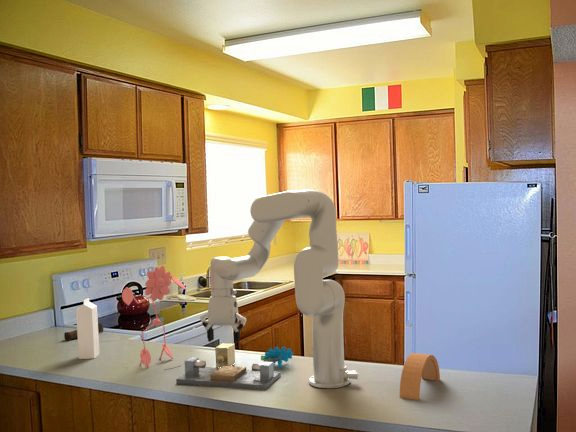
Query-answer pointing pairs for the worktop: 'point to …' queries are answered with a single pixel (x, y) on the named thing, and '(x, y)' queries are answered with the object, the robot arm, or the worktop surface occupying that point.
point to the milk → (87, 330)
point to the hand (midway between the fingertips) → (223, 341)
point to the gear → (277, 355)
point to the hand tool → (73, 335)
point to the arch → (417, 374)
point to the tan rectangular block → (225, 355)
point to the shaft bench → (238, 383)
